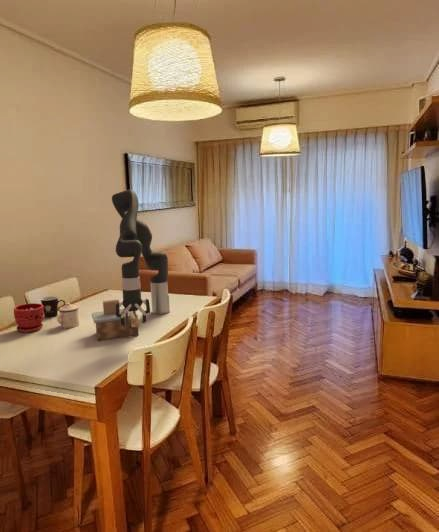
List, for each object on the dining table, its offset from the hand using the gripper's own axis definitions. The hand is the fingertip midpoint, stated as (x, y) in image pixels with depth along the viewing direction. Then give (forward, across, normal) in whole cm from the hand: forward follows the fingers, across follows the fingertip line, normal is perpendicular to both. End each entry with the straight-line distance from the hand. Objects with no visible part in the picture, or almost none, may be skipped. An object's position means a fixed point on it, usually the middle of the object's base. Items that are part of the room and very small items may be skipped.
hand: (133, 324), depth 166 cm
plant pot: (+9, +45, -41) cm, 62 cm away
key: (-1, 0, -2) cm, 2 cm away
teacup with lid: (+9, +28, -39) cm, 49 cm away
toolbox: (+9, +6, -17) cm, 20 cm away
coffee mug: (+9, +36, -61) cm, 71 cm away
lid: (+1, +6, -19) cm, 20 cm away
